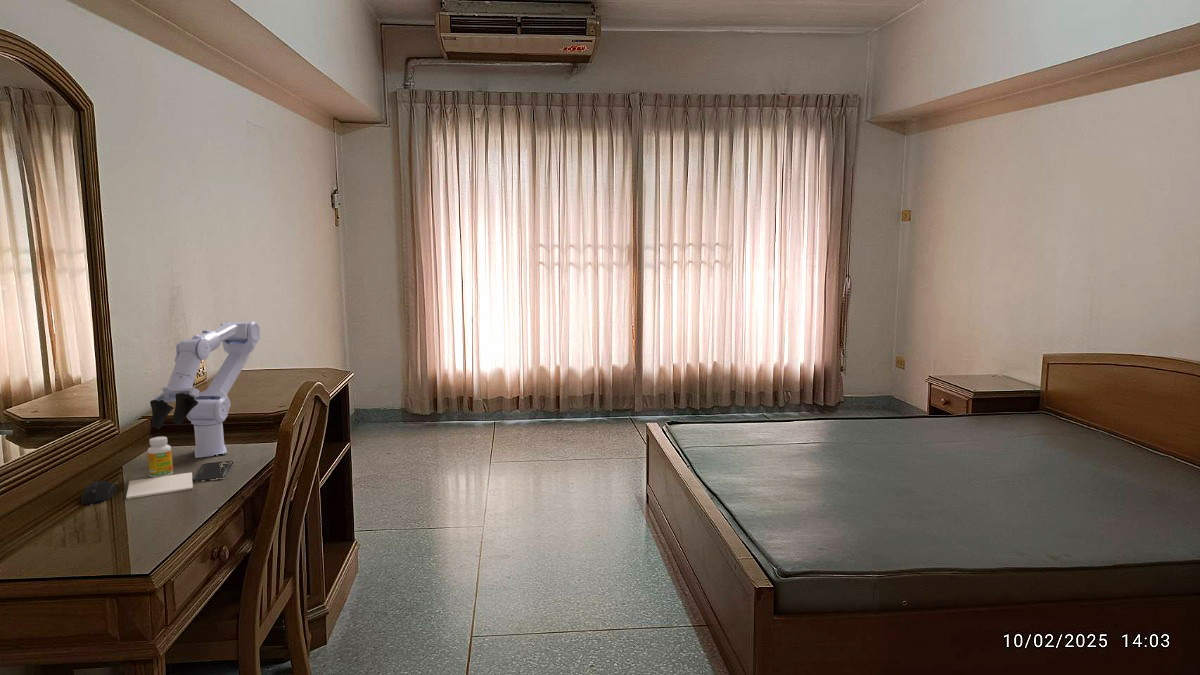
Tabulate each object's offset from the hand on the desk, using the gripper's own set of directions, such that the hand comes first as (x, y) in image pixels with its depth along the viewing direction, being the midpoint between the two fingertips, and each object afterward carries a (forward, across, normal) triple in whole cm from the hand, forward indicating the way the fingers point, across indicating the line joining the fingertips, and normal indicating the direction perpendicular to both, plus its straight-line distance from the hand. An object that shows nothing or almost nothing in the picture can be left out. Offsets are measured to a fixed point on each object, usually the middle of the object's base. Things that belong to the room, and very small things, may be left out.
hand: (166, 425), depth 206 cm
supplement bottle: (+11, -4, +6) cm, 13 cm away
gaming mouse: (+23, -3, -8) cm, 24 cm away
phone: (+10, +7, +13) cm, 17 cm away
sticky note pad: (+16, +3, +2) cm, 17 cm away
